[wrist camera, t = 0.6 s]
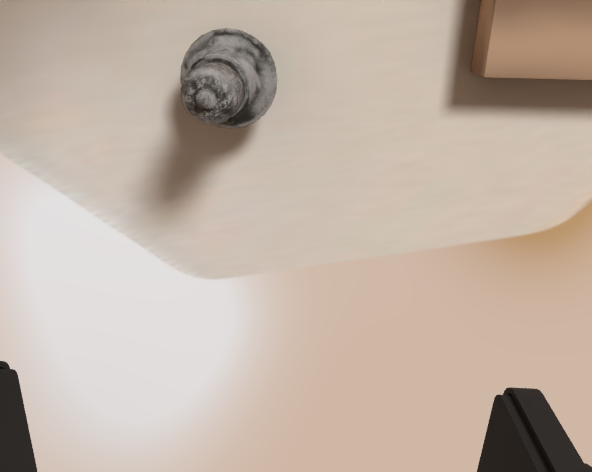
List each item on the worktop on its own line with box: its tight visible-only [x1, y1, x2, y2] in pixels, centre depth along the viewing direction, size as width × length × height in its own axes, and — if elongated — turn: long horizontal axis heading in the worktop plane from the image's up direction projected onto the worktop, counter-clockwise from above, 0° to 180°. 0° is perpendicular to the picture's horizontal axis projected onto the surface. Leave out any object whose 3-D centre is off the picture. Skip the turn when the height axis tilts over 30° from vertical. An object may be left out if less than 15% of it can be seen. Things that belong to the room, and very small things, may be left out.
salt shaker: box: [181, 28, 277, 129], centre depth 30 cm, size 6×6×12 cm
